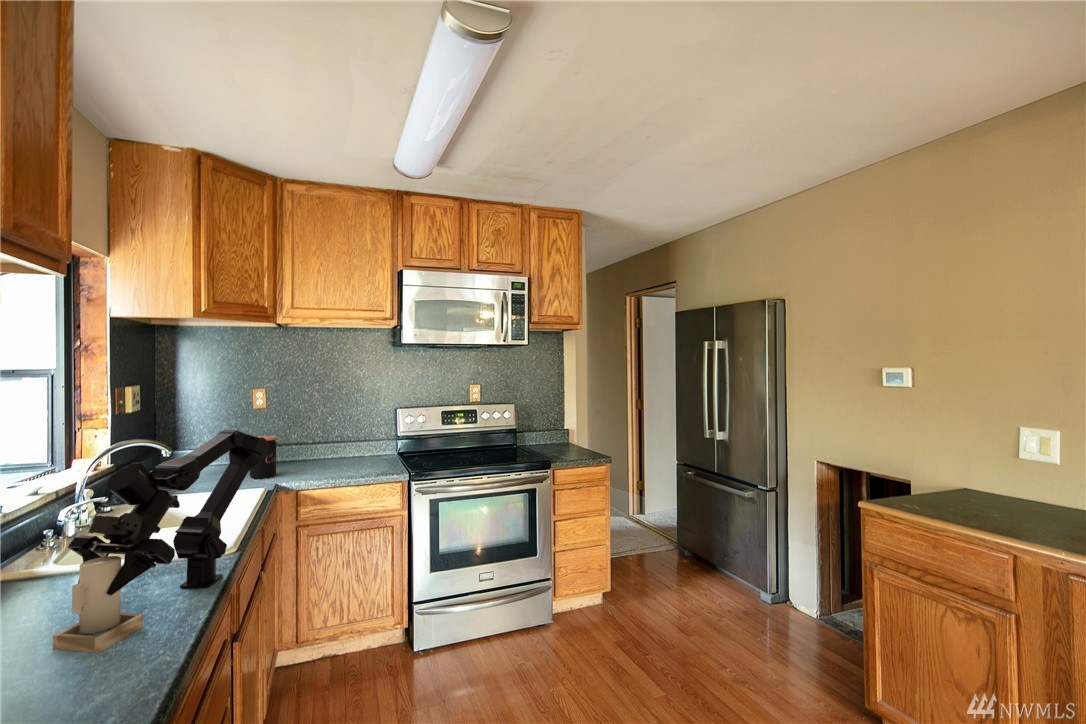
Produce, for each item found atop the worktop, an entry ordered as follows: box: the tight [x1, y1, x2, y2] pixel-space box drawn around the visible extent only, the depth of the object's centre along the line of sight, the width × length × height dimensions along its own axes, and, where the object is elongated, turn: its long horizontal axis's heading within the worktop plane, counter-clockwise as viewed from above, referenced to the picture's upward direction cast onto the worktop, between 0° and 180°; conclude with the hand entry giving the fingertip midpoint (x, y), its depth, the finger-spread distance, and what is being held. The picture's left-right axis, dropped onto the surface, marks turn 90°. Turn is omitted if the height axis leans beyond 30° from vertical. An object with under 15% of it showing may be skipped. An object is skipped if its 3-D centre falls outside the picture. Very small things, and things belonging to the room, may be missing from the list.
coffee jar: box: [249, 435, 277, 480], centre depth 236 cm, size 11×11×18 cm
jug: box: [71, 555, 122, 635], centre depth 97 cm, size 8×6×12 cm
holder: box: [52, 612, 144, 654], centre depth 98 cm, size 9×9×2 cm
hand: (93, 593), depth 97 cm, fingers closed on jug, 6 cm apart
